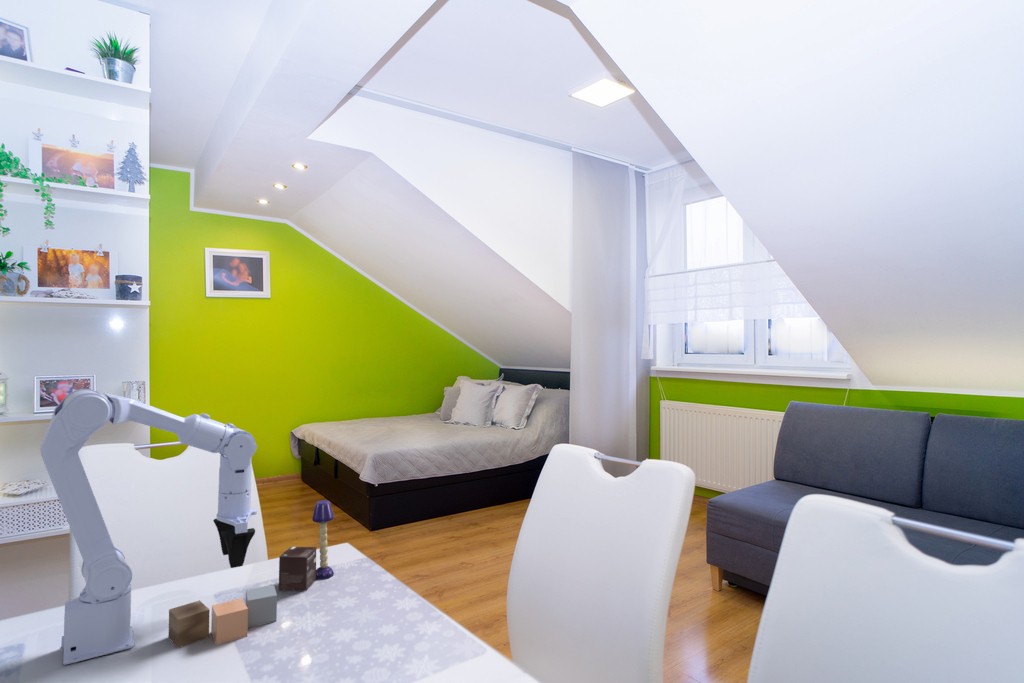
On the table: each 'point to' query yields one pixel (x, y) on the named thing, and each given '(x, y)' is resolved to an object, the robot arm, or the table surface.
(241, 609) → the terracotta block
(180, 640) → the walnut block
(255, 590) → the slate block
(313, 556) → the box
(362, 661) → the table surface
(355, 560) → the table surface
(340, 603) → the table surface
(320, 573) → the toy lamp
